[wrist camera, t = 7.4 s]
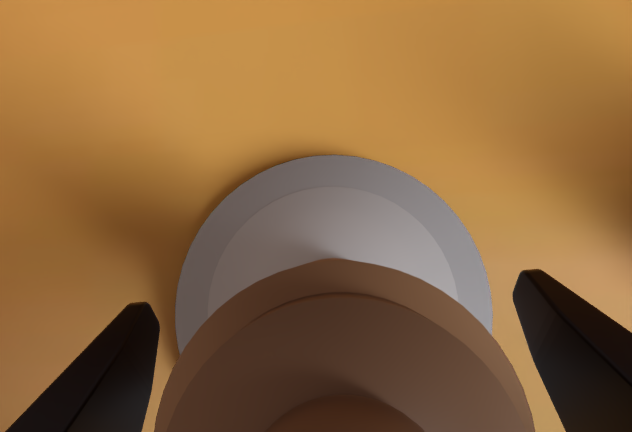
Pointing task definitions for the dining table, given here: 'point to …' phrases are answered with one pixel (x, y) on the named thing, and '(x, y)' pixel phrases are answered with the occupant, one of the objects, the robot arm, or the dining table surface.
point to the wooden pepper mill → (343, 360)
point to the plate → (328, 235)
